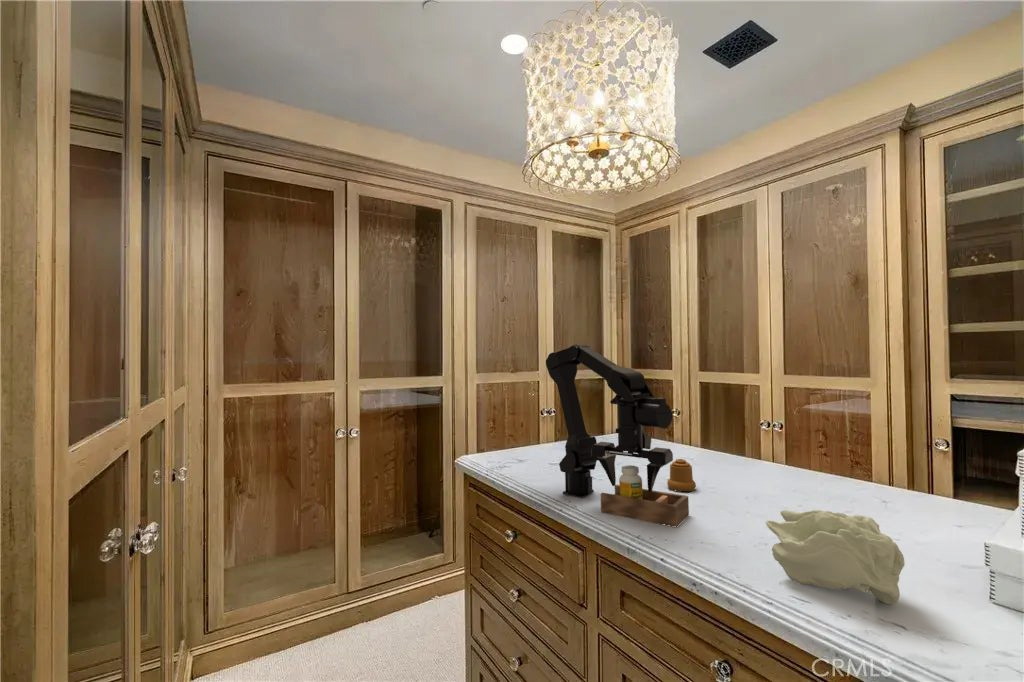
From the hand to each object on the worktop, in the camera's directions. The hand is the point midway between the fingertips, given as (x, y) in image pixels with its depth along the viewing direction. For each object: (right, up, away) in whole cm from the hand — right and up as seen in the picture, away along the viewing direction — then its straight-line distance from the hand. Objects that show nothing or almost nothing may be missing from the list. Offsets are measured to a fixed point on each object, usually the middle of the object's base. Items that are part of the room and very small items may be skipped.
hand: (631, 488), depth 115 cm
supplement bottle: (0, -5, 0) cm, 5 cm away
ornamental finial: (+18, -6, +18) cm, 26 cm away
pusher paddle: (+6, -4, -4) cm, 8 cm away
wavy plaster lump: (+23, -5, -38) cm, 44 cm away
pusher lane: (+3, -5, -2) cm, 6 cm away
